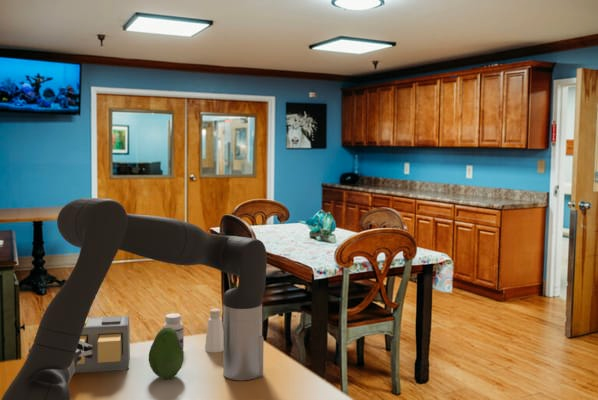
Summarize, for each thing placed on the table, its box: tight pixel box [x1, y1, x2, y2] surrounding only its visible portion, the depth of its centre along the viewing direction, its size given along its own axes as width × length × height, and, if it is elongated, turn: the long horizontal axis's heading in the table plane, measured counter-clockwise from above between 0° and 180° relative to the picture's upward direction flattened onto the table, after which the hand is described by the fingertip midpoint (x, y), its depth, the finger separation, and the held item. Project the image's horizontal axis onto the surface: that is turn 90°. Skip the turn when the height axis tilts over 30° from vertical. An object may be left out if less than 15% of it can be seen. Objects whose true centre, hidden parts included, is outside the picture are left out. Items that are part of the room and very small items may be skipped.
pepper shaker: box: [204, 307, 223, 354], centre depth 158 cm, size 5×5×11 cm
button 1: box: [77, 335, 88, 364], centre depth 140 cm, size 5×8×5 cm, turn 13°
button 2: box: [98, 333, 122, 363], centre depth 141 cm, size 5×8×5 cm, turn 13°
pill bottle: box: [162, 312, 185, 350], centre depth 157 cm, size 5×5×10 cm
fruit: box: [148, 327, 184, 380], centre depth 139 cm, size 8×8×12 cm
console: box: [74, 315, 131, 374], centre depth 145 cm, size 16×8×12 cm, turn 103°
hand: (67, 339), depth 130 cm, fingers closed
